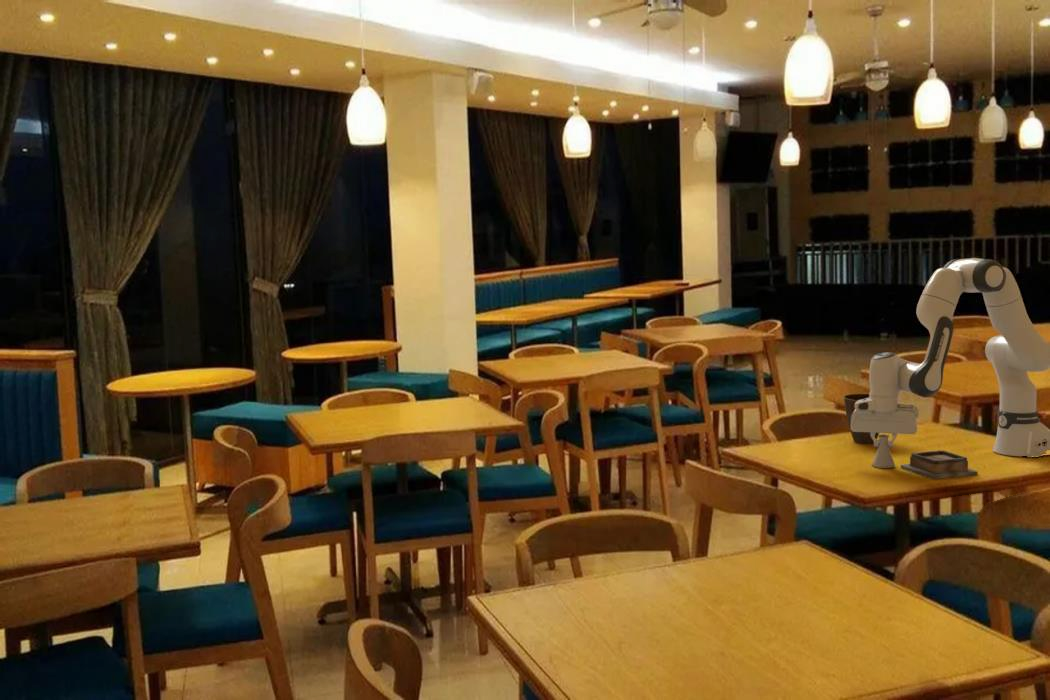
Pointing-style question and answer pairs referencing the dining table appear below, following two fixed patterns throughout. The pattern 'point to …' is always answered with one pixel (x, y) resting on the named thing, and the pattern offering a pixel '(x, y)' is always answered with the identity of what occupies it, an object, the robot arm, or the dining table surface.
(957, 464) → the walnut plinth
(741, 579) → the dining table surface
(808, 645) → the dining table surface
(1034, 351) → the robot arm
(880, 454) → the flask
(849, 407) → the plant pot
